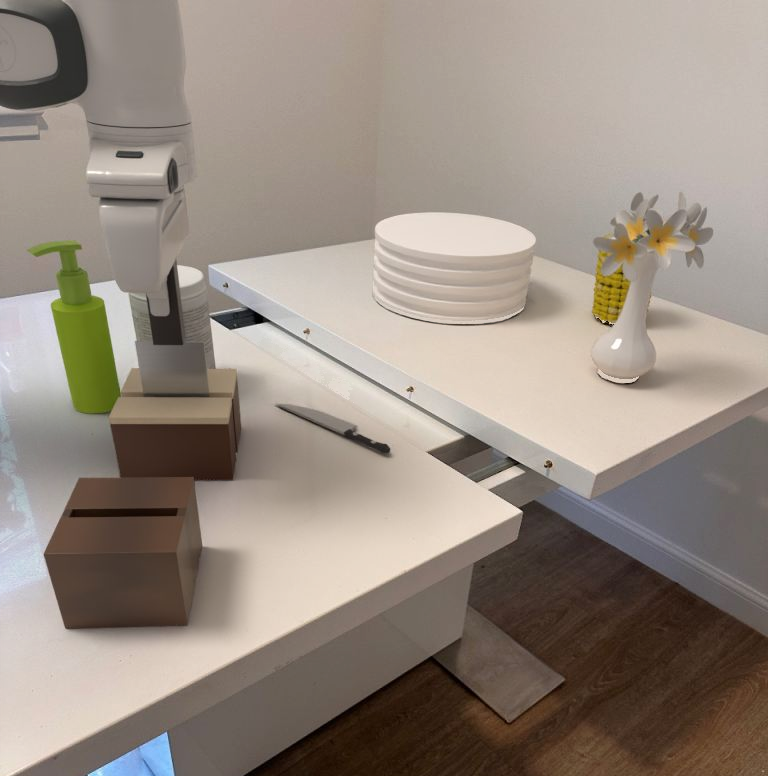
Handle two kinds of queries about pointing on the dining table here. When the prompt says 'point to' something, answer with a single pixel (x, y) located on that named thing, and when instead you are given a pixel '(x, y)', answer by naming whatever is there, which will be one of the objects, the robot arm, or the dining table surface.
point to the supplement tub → (192, 308)
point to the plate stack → (452, 265)
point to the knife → (172, 353)
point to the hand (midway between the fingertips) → (164, 307)
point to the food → (610, 291)
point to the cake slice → (174, 437)
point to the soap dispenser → (82, 334)
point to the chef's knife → (335, 425)
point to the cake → (220, 386)
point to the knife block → (126, 552)
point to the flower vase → (643, 276)
